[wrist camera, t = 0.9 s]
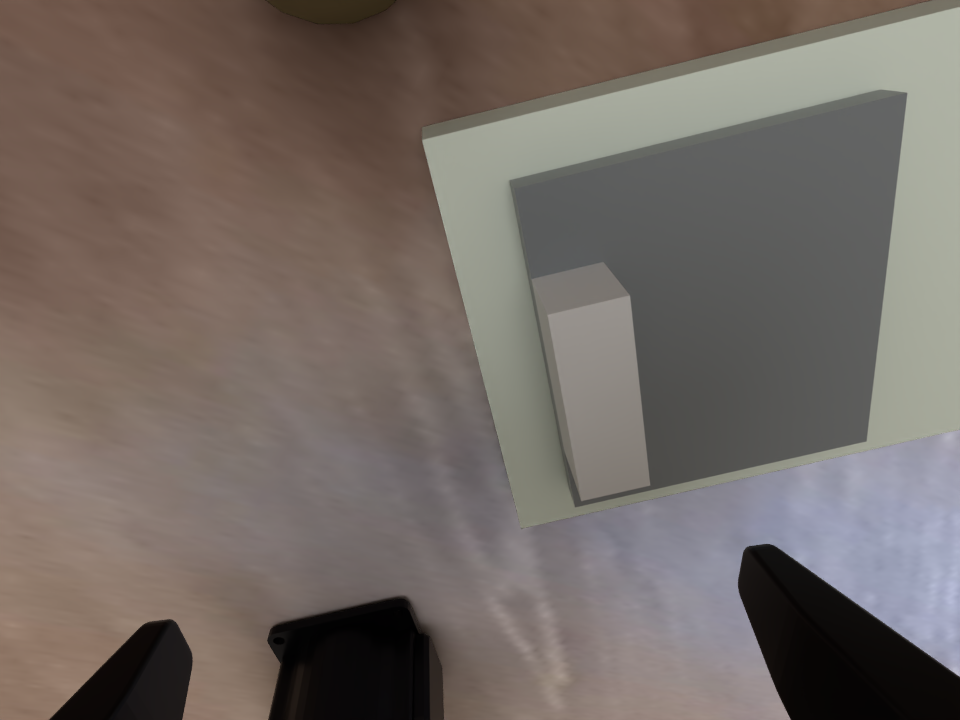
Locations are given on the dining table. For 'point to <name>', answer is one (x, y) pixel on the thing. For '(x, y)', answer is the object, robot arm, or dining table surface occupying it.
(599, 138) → the puzzle board
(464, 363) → the dining table surface
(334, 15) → the olive rounded upright piece
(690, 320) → the sliding cover
